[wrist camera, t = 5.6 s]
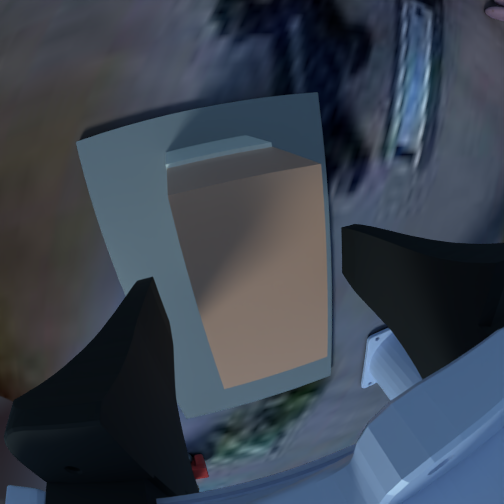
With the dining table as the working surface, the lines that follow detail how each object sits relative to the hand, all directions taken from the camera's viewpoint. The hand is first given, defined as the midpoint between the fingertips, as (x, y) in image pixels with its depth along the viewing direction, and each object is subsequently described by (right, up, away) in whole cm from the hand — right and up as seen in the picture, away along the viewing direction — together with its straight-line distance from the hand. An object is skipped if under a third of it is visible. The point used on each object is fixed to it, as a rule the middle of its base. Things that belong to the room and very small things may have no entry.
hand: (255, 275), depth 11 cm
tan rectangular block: (-1, +1, +3) cm, 3 cm away
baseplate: (-1, -2, +10) cm, 10 cm away
